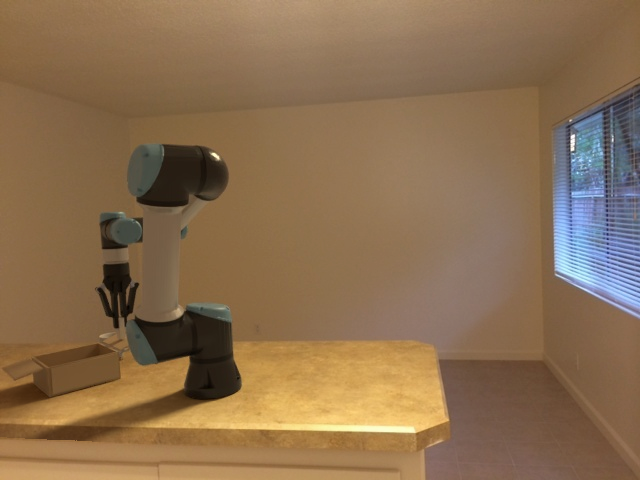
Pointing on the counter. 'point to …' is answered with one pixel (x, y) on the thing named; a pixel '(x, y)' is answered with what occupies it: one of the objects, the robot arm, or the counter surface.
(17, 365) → the flap near
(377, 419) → the counter surface
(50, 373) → the carton
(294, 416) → the counter surface
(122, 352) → the cup
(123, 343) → the flap far
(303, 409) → the counter surface
